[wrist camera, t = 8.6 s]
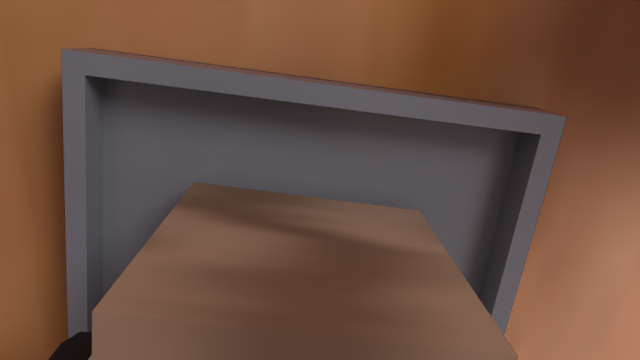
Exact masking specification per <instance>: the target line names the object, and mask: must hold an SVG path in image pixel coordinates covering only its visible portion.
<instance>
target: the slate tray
mask: <svg viewBox="0 0 640 360" xmlns="http://www.w3.org/2000/svg"><path fill="white" fill-rule="evenodd" d="M61 61H62V103H63V145H64V187H65V230H66V272H67V314H68V339H69V338H71V337H72V336H74V335H75V334H77V333H78V332H80V331H82V332H92V311H93V310H94V308H95V307H96V306H97V305H98V303H99V302H100V301H101V300H102V298H103V297H104V296H105V295H106V293H107V292H108V291H109V289H110V288H111V287H112V286H113V284H114V283H115V282H116V281H117V279H118V278H119V277H120V275H121V274H122V273H123V272H124V270H125V269H126V268H127V267H128V265H129V264H130V263H131V261H132V260H133V259H134V258H135V256H136V255H137V254H138V253H139V251H140V250H141V249H142V247H143V246H144V245H145V244H146V242H147V241H148V240H149V239H150V237H151V236H152V235H153V234H154V232H155V231H156V230H157V228H158V227H159V226H160V225H161V223H162V222H163V221H164V220H165V218H166V217H167V216H168V214H169V213H170V212H171V211H172V209H173V208H174V207H175V206H176V204H177V203H178V202H179V200H180V199H181V198H182V197H183V195H184V194H185V193H186V192H187V190H188V189H189V188H190V186H191V185H192V184H193V183H194V182H197V183H205V184H213V185H221V186H229V187H237V188H245V189H253V190H261V191H269V192H277V193H285V194H293V195H301V196H309V197H316V198H324V199H332V200H340V201H348V202H356V203H364V204H372V205H380V206H388V207H396V208H404V209H412V210H419V211H420V213H421V214H422V216H423V217H424V219H425V220H426V221H427V223H428V224H429V226H430V227H431V229H432V230H433V232H434V233H435V235H436V236H437V238H438V239H439V241H440V242H441V244H442V245H443V246H444V248H445V249H446V251H447V252H448V254H449V255H450V257H451V258H452V260H453V261H454V263H455V264H456V266H457V267H458V269H459V270H460V271H461V273H462V274H463V276H464V277H465V279H466V280H467V282H468V283H469V285H470V286H471V288H472V289H473V291H474V292H475V294H476V295H477V296H478V298H479V299H480V301H481V302H482V304H483V305H484V307H485V308H486V310H487V311H488V313H489V314H490V316H491V317H492V318H493V320H494V321H495V323H496V324H497V326H498V327H499V329H500V330H501V332H502V333H503V335H504V334H505V331H506V327H507V324H508V320H509V317H510V313H511V310H512V306H513V303H514V299H515V296H516V292H517V289H518V285H519V282H520V278H521V275H522V271H523V268H524V264H525V261H526V257H527V254H528V250H529V247H530V243H531V240H532V236H533V233H534V229H535V226H536V222H537V219H538V215H539V212H540V208H541V205H542V201H543V198H544V195H545V191H546V188H547V184H548V181H549V177H550V174H551V170H552V167H553V163H554V160H555V156H556V153H557V149H558V146H559V142H560V139H561V135H562V132H563V128H564V125H565V121H566V118H567V117H566V116H563V115H559V114H556V113H552V112H549V111H545V110H542V109H538V108H533V107H525V106H518V105H510V104H503V103H496V102H488V101H481V100H473V99H466V98H458V97H451V96H444V95H436V94H429V93H421V92H414V91H406V90H399V89H392V88H384V87H377V86H369V85H362V84H354V83H347V82H339V81H332V80H325V79H317V78H310V77H302V76H295V75H287V74H280V73H273V72H265V71H258V70H250V69H243V68H235V67H228V66H221V65H213V64H206V63H198V62H191V61H183V60H176V59H169V58H161V57H154V56H146V55H139V54H131V53H124V52H116V51H109V50H102V49H94V48H78V49H61Z"/></svg>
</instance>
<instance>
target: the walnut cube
mask: <svg viewBox="0 0 640 360" xmlns="http://www.w3.org/2000/svg"><path fill="white" fill-rule="evenodd" d="M517 357H518V355H517V354H516V352H515V351H514V349H513V348H512V346H511V345H510V343H509V342H508V341H507V339H506V338H505V336H504V335H503V333H502V332H501V330H500V329H499V327H498V326H497V324H496V323H495V321H494V320H493V318H492V317H491V316H490V314H489V313H488V311H487V310H486V308H485V307H484V305H483V304H482V302H481V301H480V299H479V298H478V296H477V295H476V294H475V292H474V291H473V289H472V288H471V286H470V285H469V283H468V282H467V280H466V279H465V277H464V276H463V274H462V273H461V271H460V270H459V269H458V267H457V266H456V264H455V263H454V261H453V260H452V258H451V257H450V255H449V254H448V252H447V251H446V249H445V248H444V246H443V245H442V244H441V242H440V241H439V239H438V238H437V236H436V235H435V233H434V232H433V230H432V229H431V227H430V226H429V224H428V223H427V221H426V220H425V219H424V217H423V216H422V214H421V213H420V211H419V210H412V209H404V208H396V207H388V206H380V205H372V204H364V203H356V202H348V201H340V200H332V199H324V198H316V197H309V196H301V195H293V194H285V193H277V192H269V191H261V190H253V189H245V188H237V187H229V186H221V185H213V184H205V183H197V182H194V183H193V184H192V185H191V186H190V188H189V189H188V190H187V192H186V193H185V194H184V195H183V197H182V198H181V199H180V200H179V202H178V203H177V204H176V206H175V207H174V208H173V209H172V211H171V212H170V213H169V214H168V216H167V217H166V218H165V220H164V221H163V222H162V223H161V225H160V226H159V227H158V228H157V230H156V231H155V232H154V234H153V235H152V236H151V237H150V239H149V240H148V241H147V242H146V244H145V245H144V246H143V247H142V249H141V250H140V251H139V253H138V254H137V255H136V256H135V258H134V259H133V260H132V261H131V263H130V264H129V265H128V267H127V268H126V269H125V270H124V272H123V273H122V274H121V275H120V277H119V278H118V279H117V281H116V282H115V283H114V284H113V286H112V287H111V288H110V289H109V291H108V292H107V293H106V295H105V296H104V297H103V298H102V300H101V301H100V302H99V303H98V305H97V306H96V307H95V308H94V310H93V311H92V360H517Z"/></svg>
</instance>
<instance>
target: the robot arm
mask: <svg viewBox="0 0 640 360" xmlns="http://www.w3.org/2000/svg"><path fill="white" fill-rule="evenodd" d="M49 360H92V332H82V331H80V332H78V333H77V334H75V335H74V336H72V337H71V338H69V339H68V340H66V341H64V342H63V343H61V345H60V346H59V347H58V348H57V350H56V351H55V352H54V353H53V355H52V356H51V357H50V358H49Z"/></svg>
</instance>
